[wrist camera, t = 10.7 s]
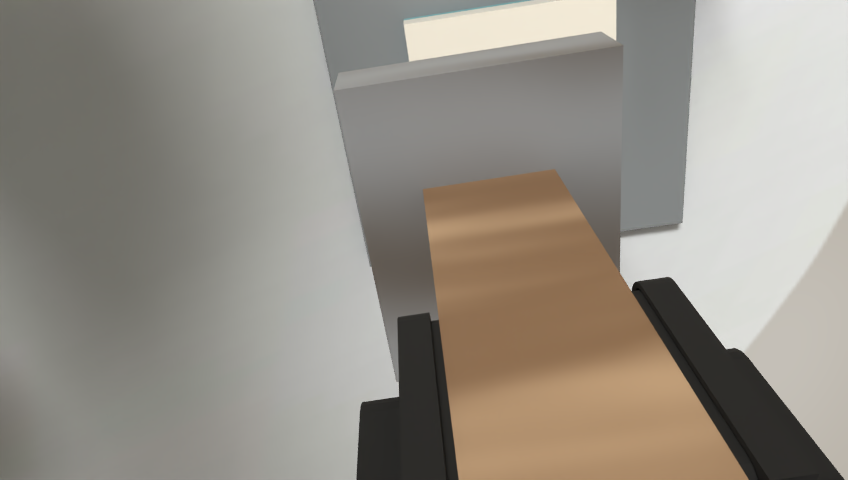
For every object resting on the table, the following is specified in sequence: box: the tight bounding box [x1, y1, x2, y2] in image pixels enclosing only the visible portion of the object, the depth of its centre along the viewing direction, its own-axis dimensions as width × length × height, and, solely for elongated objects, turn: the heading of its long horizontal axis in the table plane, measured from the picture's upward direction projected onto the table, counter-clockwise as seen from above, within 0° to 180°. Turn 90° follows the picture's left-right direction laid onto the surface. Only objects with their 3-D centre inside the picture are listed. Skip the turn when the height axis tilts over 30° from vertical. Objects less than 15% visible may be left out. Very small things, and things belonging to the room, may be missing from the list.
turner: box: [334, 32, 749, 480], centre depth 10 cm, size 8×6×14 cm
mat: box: [313, 0, 696, 267], centre depth 26 cm, size 14×15×1 cm
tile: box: [404, 0, 616, 62], centre depth 26 cm, size 8×2×8 cm
